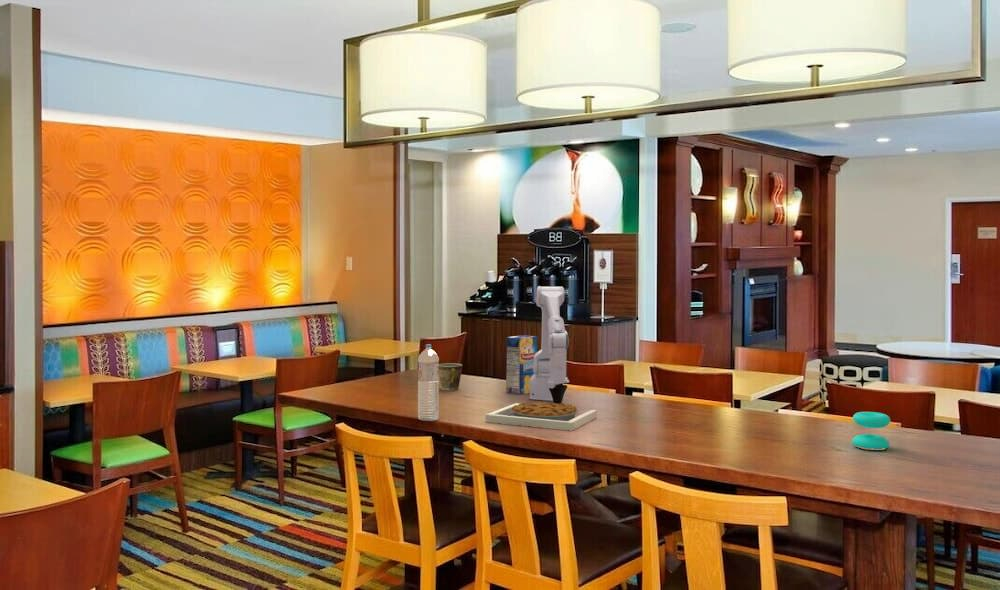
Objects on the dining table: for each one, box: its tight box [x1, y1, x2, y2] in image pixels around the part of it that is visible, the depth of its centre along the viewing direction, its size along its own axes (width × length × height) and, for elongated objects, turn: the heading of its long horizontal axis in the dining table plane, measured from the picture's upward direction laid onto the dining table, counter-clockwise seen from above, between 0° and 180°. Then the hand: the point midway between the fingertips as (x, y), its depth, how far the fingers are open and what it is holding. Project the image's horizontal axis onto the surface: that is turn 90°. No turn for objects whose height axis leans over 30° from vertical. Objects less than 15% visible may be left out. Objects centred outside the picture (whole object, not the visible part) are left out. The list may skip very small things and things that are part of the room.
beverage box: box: [505, 334, 538, 395], centre depth 355 cm, size 7×11×22 cm, turn 139°
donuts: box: [851, 411, 891, 449], centre depth 260 cm, size 10×10×10 cm
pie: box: [511, 401, 578, 421], centre depth 300 cm, size 22×22×5 cm
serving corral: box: [485, 402, 598, 432], centre depth 299 cm, size 30×24×2 cm
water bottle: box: [417, 343, 440, 422], centre depth 297 cm, size 7×7×25 cm
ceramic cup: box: [438, 362, 463, 392], centre depth 358 cm, size 13×10×10 cm
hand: (557, 406), depth 311 cm, fingers closed
